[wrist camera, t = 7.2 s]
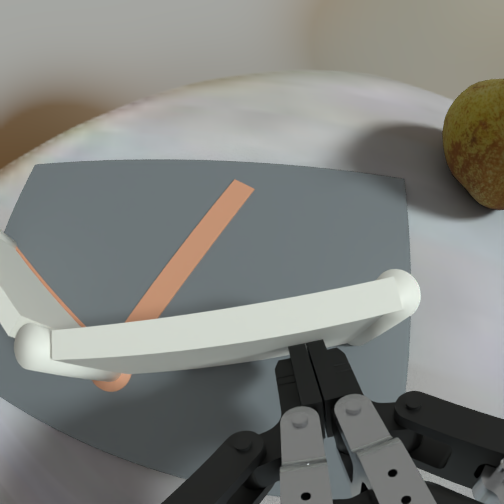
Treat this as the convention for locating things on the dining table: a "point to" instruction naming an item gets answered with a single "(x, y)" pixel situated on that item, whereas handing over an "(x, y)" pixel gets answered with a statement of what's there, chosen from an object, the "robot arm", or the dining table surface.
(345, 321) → the fence gate
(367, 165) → the dining table surface
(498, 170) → the fruit
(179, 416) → the card
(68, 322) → the fence fixed
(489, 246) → the dining table surface
